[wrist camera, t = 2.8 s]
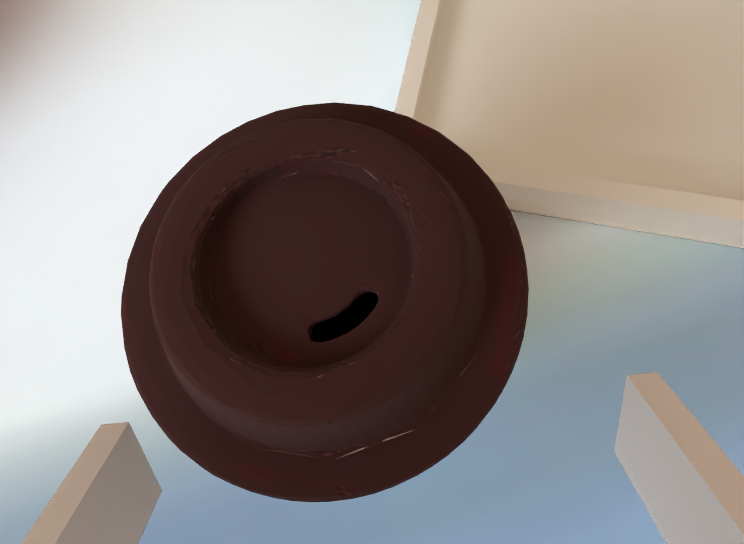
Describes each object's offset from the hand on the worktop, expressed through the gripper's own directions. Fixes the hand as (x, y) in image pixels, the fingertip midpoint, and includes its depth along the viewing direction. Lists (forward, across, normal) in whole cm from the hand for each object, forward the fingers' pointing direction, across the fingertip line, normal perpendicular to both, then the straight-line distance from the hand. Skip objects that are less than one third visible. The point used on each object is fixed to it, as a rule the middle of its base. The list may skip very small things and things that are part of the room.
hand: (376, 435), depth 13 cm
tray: (+20, +13, +5) cm, 24 cm away
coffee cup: (+10, -1, -5) cm, 12 cm away
